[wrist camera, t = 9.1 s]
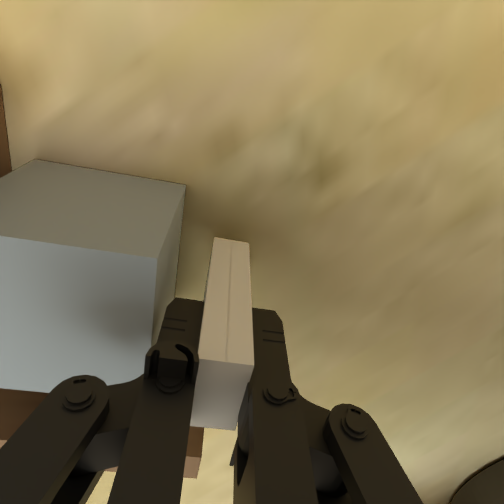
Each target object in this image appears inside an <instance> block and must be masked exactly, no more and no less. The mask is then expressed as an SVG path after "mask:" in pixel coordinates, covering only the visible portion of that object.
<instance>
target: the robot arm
mask: <svg viewBox="0 0 504 504" xmlns="http://www.w3.org/2000/svg"><path fill="white" fill-rule="evenodd" d="M237 423H238V437H237V440H236V444H235V447H234V450H233V454H232V457H231V461H230V466H233V465H234V496H233V504H423V502H422V501H421V499H420V497H419V496H418V494H417V492H416V491H415V489H414V487H413V486H412V484H411V482H410V480H409V479H408V477H407V475H406V474H405V472H404V470H403V469H402V467H401V465H400V463H399V462H398V460H397V458H396V457H395V455H394V453H393V452H392V450H391V448H390V446H389V445H388V443H387V441H386V440H385V438H384V436H383V435H382V433H381V431H380V430H379V428H378V426H377V424H376V423H375V422H374V420H373V419H372V418H371V416H370V415H369V414H368V413H366V412H365V411H364V410H362V409H361V408H359V407H356V406H354V405H352V404H340V405H337V406H335V407H334V408H333V409H332V410H331V411H329V410H327V409H325V408H322V407H320V406H317V405H315V404H313V403H311V402H309V401H307V400H306V399H304V398H303V397H302V396H301V395H300V394H299V392H298V389H297V388H296V387H295V385H294V384H293V383H292V381H291V377H290V371H289V364H288V357H287V351H286V344H285V337H284V330H283V324H282V321H281V319H280V318H279V316H278V315H277V313H276V312H275V311H272V310H265V309H258V308H252V299H251V275H250V252H249V243H247V242H241V241H235V240H229V239H223V238H217V237H214V241H213V247H212V253H211V258H210V264H209V270H208V275H207V281H206V287H205V293H204V300H203V301H197V300H190V299H183V298H175V299H174V300H173V301H172V302H171V303H170V304H169V305H168V306H167V308H166V311H165V315H164V319H163V322H162V325H161V329H160V332H159V336H158V340H157V343H156V344H155V345H154V346H152V347H151V348H150V349H149V350H148V352H147V354H146V355H145V365H144V374H142V375H141V376H140V377H138V378H136V379H134V380H132V381H129V382H125V383H120V384H114V385H108V386H107V385H106V383H105V382H104V381H103V380H101V379H100V378H98V377H96V376H91V375H79V376H73V377H71V378H68V379H66V380H64V381H62V382H61V383H59V384H58V385H57V386H56V387H55V388H53V389H52V391H51V392H50V393H49V394H48V395H47V396H46V397H45V398H44V400H43V401H42V402H41V403H40V404H39V405H38V406H37V408H36V409H35V410H34V411H33V412H32V413H31V414H30V415H29V417H28V418H27V419H26V420H25V421H24V422H23V423H22V425H21V426H20V427H19V428H18V429H17V430H16V431H15V433H14V434H13V435H12V436H11V437H10V438H9V439H8V440H7V442H6V443H5V444H4V445H3V446H2V447H1V448H0V504H85V503H86V502H87V500H88V498H89V497H90V495H91V493H92V491H93V490H94V488H95V486H96V484H97V483H98V481H99V479H100V477H101V476H102V474H103V472H104V470H105V469H109V468H113V467H117V466H118V468H117V472H116V475H115V479H114V482H113V486H112V489H111V493H110V496H109V500H108V503H107V504H180V498H181V490H182V482H183V475H184V467H185V460H186V452H187V444H188V437H189V429H190V426H195V427H205V428H215V429H225V430H235V429H236V426H237ZM450 504H504V460H502V461H500V462H498V463H496V464H494V465H492V466H490V467H488V468H487V469H485V470H483V471H482V472H480V473H479V474H477V475H476V476H474V477H473V478H472V479H470V480H469V481H468V482H467V483H466V484H465V485H464V486H463V487H462V488H461V489H460V490H459V491H458V492H457V493H456V495H455V496H454V498H453V499H452V501H451V503H450Z"/></svg>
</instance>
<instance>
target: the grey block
mask: <svg viewBox="0 0 504 504" xmlns="http://www.w3.org/2000/svg"><path fill="white" fill-rule="evenodd" d="M185 190H186V185H184V184H178V183H172V182H166V181H160V180H154V179H148V178H143V177H137V176H131V175H125V174H119V173H113V172H107V171H101V170H96V169H90V168H84V167H78V166H72V165H66V164H60V163H54V162H49V161H43V160H37V159H34V160H32V161H30V162H28V163H27V164H25V165H23V166H21V167H19V168H17V169H16V170H14V171H12V172H10V173H8V174H7V175H5V176H3V177H1V178H0V388H4V389H14V390H25V391H35V392H45V393H50V392H51V391H52V389H53V388H55V387H56V386H57V385H58V384H59V383H61V382H62V381H64V380H66V379H68V378H71V377H73V376H79V375H91V376H96V377H98V378H100V379H101V380H103V381H104V382H105V383H106V385H107V386H108V385H114V384H120V383H125V382H129V381H132V380H134V379H136V378H138V377H140V376H141V375H142V374H144V365H145V355H146V354H147V352H148V350H149V349H150V348H151V347H152V346H154V345H155V344H156V343H157V340H158V336H159V332H160V329H161V325H162V322H163V319H164V315H165V311H166V308H167V306H168V305H169V304H170V303H171V302H172V301H173V300H174V294H175V285H176V275H177V266H178V256H179V247H180V237H181V228H182V218H183V209H184V199H185Z"/></svg>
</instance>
